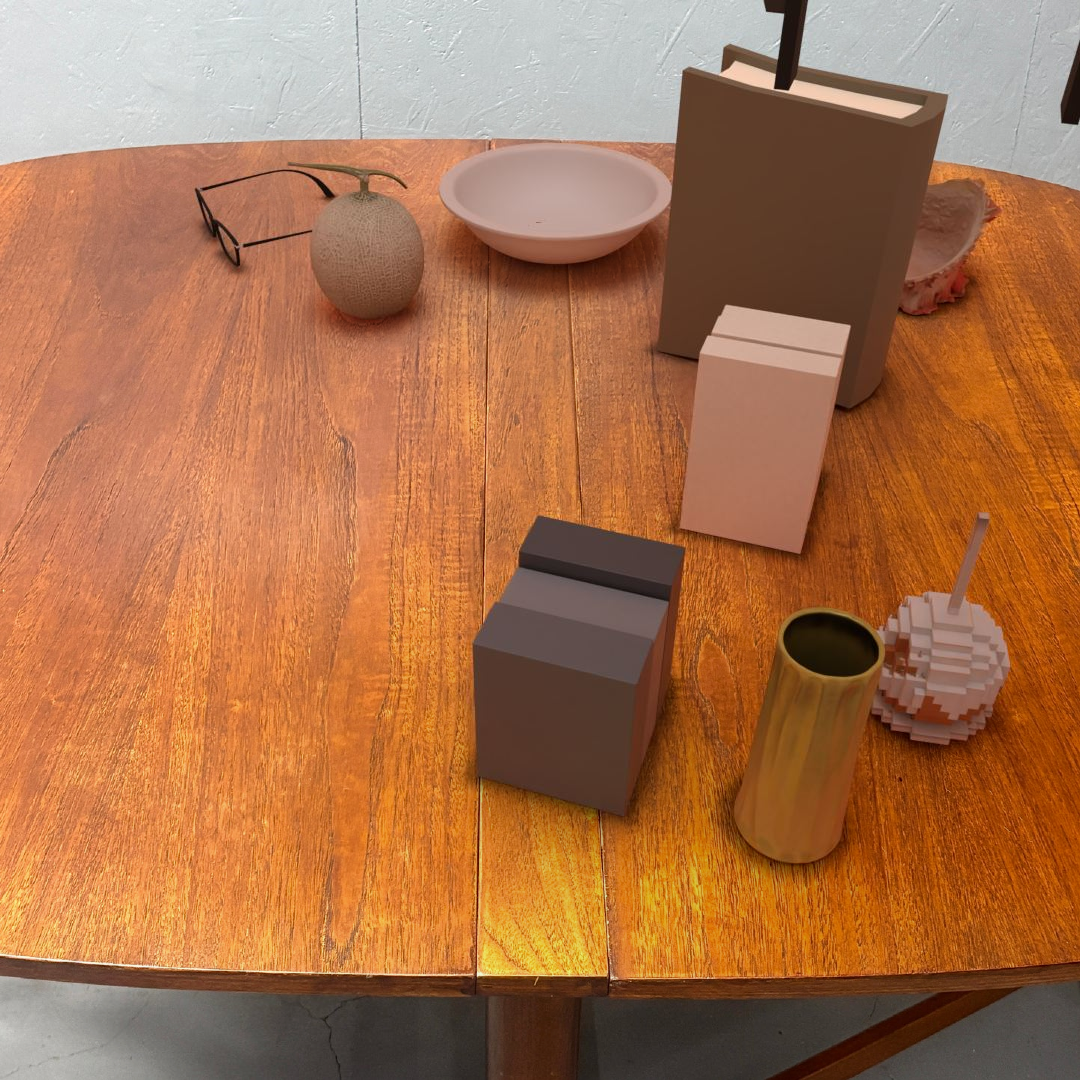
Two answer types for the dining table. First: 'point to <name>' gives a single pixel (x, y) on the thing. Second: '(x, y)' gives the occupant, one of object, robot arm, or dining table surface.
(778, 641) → the vase
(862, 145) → the book
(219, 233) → the eyeglasses
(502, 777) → the grey books
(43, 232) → the dining table surface
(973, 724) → the pale rounded piece
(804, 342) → the white books
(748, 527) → the white book
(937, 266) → the seashell
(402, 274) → the fruit
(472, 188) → the soup bowl
